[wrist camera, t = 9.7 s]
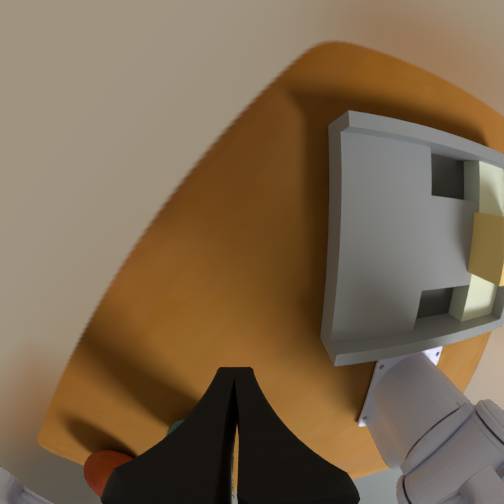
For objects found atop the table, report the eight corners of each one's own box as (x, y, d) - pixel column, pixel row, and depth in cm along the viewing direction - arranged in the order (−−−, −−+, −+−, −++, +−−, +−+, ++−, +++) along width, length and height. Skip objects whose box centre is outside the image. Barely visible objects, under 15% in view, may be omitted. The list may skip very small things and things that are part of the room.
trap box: (479, 312, 21) (501, 326, 17) (319, 338, 20) (334, 366, 16) (495, 162, 18) (522, 162, 14) (328, 125, 17) (348, 110, 13)
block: (496, 268, 17) (525, 281, 13) (467, 271, 17) (499, 286, 13) (503, 215, 16) (533, 222, 12) (474, 211, 16) (508, 218, 12)
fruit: (89, 430, 23) (65, 474, 15) (155, 454, 24) (142, 505, 16) (97, 461, 25) (81, 499, 17) (155, 481, 26) (145, 523, 18)
